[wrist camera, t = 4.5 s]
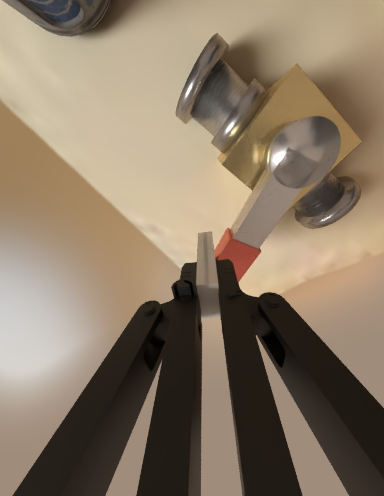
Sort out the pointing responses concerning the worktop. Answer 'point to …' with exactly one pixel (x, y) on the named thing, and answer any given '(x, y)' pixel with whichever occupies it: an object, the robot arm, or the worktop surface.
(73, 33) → the beverage bottle
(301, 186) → the lever
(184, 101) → the valve pipe
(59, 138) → the worktop surface
